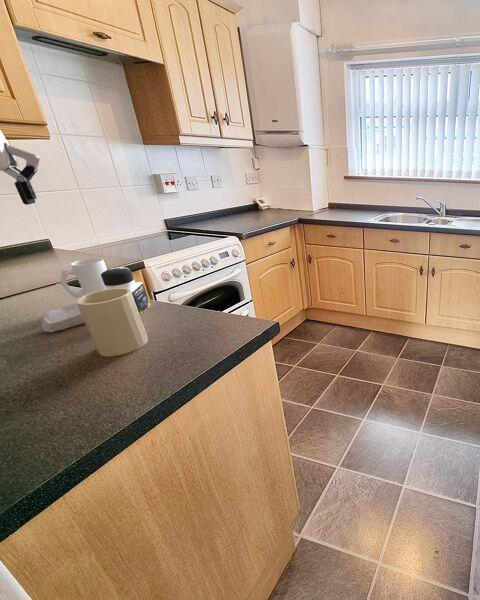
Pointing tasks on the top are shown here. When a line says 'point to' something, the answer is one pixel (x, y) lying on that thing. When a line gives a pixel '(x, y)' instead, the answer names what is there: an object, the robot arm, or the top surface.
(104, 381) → the top surface
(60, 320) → the soap bar
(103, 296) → the beige octagonal cup
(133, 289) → the medicine bottle
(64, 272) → the mug
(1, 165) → the robot arm
